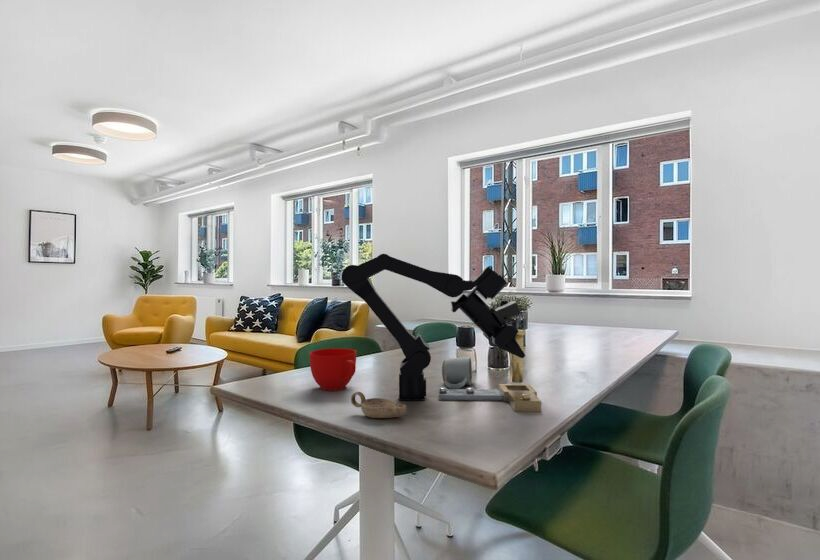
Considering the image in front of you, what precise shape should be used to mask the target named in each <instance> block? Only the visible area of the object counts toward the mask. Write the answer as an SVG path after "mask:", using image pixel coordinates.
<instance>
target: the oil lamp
mask: <svg viewBox="0 0 820 560" xmlns="http://www.w3.org/2000/svg"><path fill="white" fill-rule="evenodd" d="M356 396H358V397H360V403H359V402H357V400H356ZM350 402H351V404H352V405H353V406H354V407H355V408H360V409H361V412H362V413H363V414H364V415H365V416H366V417H369V418H371V419H391V418H393V419H394V418H399V417H401V416H402V415H404V414H405V412H406V410H407V406H406V404H405V403H404V404H399V403H398V402H397V401H393V400H391V399H388V398H381V397H374V398H373V397H371V398H366V396H365V394H364V392H361V391H355V392H353V393H352V394H351V396H350Z"/></svg>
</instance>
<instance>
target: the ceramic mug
mask: <svg viewBox="0 0 820 560" xmlns="http://www.w3.org/2000/svg"><path fill="white" fill-rule="evenodd" d="M441 363H442V365H441V377H442V380H443V382H444V383H445V386H446V388H447V389H462V388H463V387H464V386H465V385H467V386H468V385H472V380H473V372H472V371H473V369H472V368H473V366H472V358H471V357H469V356H467V357H466V356H465V357H448V358H445V359H443V361H442V362H441Z"/></svg>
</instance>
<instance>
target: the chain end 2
mask: <svg viewBox="0 0 820 560" xmlns="http://www.w3.org/2000/svg"><path fill="white" fill-rule="evenodd" d="M498 389H500V391H501V393H502V394H503V396H504V397H508V402H507V403H508V404H509V405H510V407H511V408H512V409H513V412H524V413H525V412H528V413H530V412H531V413H532V412H533V413H535V412H536V413H541V412H542V401H541V400H540V398H539V397H538V392H537V390H536V389H535V388H534V387H533V386H532V384H530V383H498ZM522 390H526V391H522Z"/></svg>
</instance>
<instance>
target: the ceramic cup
mask: <svg viewBox="0 0 820 560" xmlns="http://www.w3.org/2000/svg"><path fill="white" fill-rule="evenodd" d="M309 365H310V366H309V367H310V371H311V372H310V373H311V375H312V377H313V379H314V381H315V382H316V383H317V385H318V386H319V388H322V391H329V390H333V391H341V390H344V389H345V388H346V386H348V384H350V382H351V381H352V378H353V376H354V375H355V373H356V369H357V366H356V365H357V350H355V349H351V348H338V347H337V348H322V349H316V350H311V351H310V352H309ZM340 389H341V390H340Z"/></svg>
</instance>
